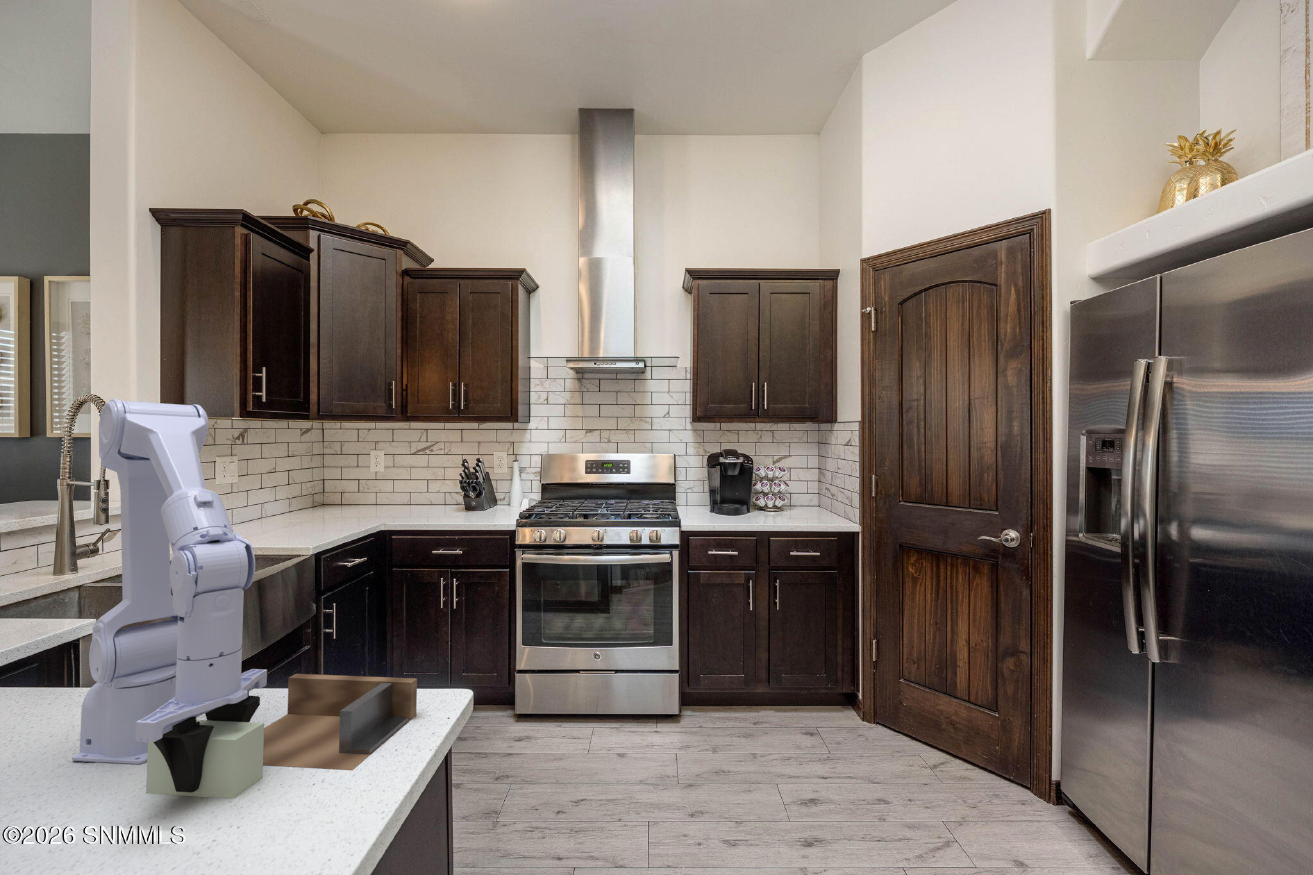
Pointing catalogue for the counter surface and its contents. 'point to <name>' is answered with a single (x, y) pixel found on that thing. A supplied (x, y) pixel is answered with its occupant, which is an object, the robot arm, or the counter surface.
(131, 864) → the counter surface
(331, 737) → the wooden display base
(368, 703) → the bookend
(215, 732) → the pale green rectangular block
